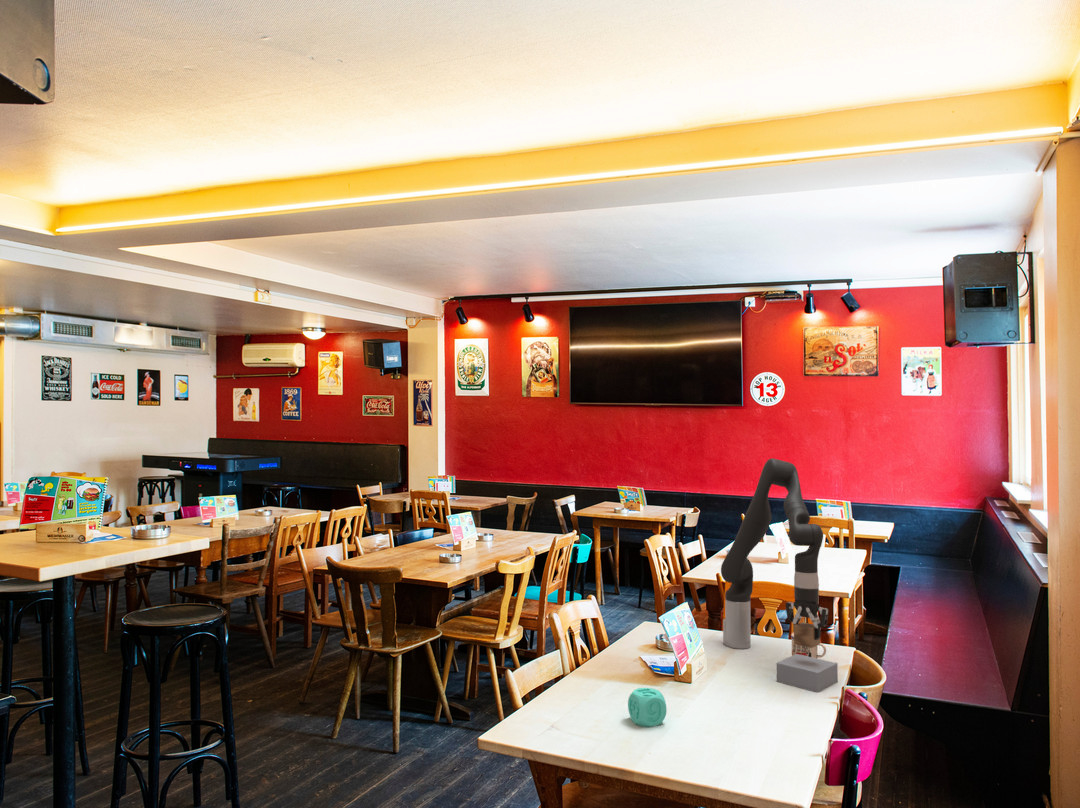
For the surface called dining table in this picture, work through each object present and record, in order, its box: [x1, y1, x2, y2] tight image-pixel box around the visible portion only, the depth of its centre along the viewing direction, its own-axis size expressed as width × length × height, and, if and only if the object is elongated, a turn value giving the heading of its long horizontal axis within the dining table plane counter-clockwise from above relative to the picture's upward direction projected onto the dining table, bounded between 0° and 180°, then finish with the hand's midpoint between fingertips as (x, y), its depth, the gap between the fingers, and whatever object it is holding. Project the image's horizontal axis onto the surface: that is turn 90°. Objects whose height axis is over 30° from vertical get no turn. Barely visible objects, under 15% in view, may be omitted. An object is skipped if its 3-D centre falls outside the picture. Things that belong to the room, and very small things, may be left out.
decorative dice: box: [627, 687, 668, 728], centre depth 206 cm, size 8×8×8 cm
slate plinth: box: [775, 654, 839, 693], centre depth 240 cm, size 14×14×6 cm
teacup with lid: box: [790, 632, 827, 659], centre depth 260 cm, size 12×9×12 cm
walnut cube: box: [793, 621, 821, 648], centre depth 240 cm, size 6×6×6 cm
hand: (807, 637), depth 240 cm, fingers closed on walnut cube, 6 cm apart
